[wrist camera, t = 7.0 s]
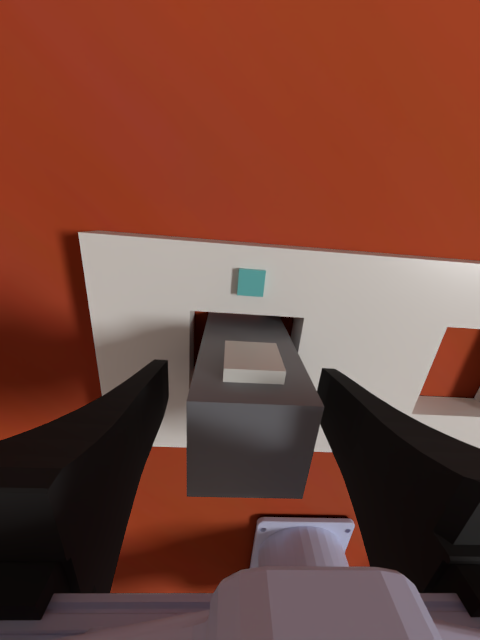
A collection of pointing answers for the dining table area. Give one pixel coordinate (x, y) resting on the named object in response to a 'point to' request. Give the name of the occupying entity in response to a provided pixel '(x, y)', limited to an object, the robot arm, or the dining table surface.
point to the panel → (282, 300)
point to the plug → (250, 411)
